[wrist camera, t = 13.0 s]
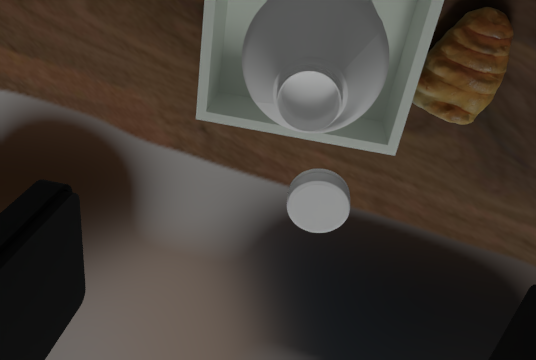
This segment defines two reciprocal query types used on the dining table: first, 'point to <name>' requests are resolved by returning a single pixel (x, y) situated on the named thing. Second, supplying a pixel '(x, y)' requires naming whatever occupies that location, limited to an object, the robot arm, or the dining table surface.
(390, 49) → the bin
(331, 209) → the water bottle
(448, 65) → the pastry
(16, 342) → the robot arm
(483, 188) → the dining table surface
